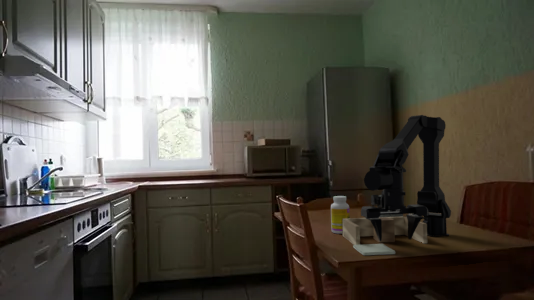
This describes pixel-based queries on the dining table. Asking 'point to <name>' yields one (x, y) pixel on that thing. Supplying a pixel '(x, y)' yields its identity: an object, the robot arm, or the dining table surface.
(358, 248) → the tile
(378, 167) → the robot arm
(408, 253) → the dining table surface
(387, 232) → the block
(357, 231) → the wooden u-shaped frame
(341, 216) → the supplement bottle
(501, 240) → the dining table surface
